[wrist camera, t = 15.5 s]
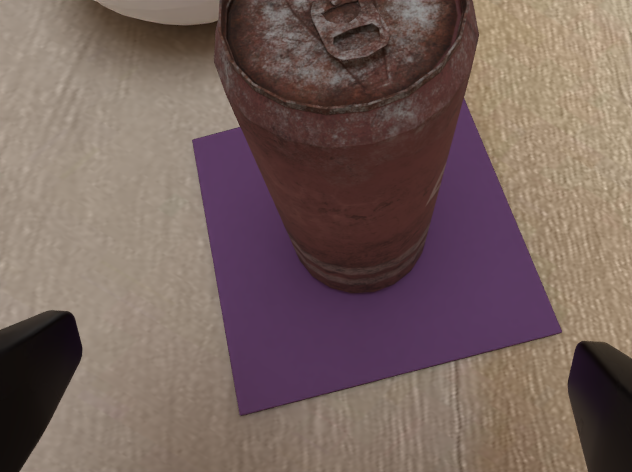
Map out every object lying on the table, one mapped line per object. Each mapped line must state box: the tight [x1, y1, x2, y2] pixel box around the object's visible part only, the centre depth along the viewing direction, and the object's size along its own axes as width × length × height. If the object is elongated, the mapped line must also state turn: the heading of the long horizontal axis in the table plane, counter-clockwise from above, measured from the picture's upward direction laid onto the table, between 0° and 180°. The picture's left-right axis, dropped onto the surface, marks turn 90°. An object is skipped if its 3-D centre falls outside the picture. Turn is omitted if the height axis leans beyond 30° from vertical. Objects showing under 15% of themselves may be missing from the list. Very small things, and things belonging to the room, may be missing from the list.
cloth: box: [192, 99, 562, 416], centre depth 24 cm, size 14×14×1 cm
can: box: [214, 0, 479, 293], centre depth 18 cm, size 6×6×14 cm
